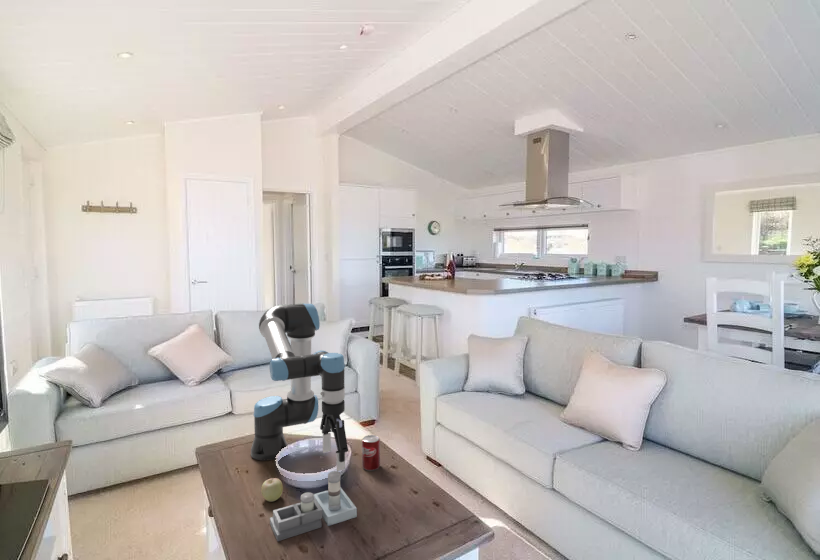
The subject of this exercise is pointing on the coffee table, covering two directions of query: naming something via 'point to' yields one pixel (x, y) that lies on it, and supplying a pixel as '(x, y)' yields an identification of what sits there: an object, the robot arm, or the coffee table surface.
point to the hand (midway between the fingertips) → (333, 460)
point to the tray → (342, 514)
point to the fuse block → (296, 518)
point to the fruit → (272, 489)
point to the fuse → (334, 491)
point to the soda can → (371, 452)
